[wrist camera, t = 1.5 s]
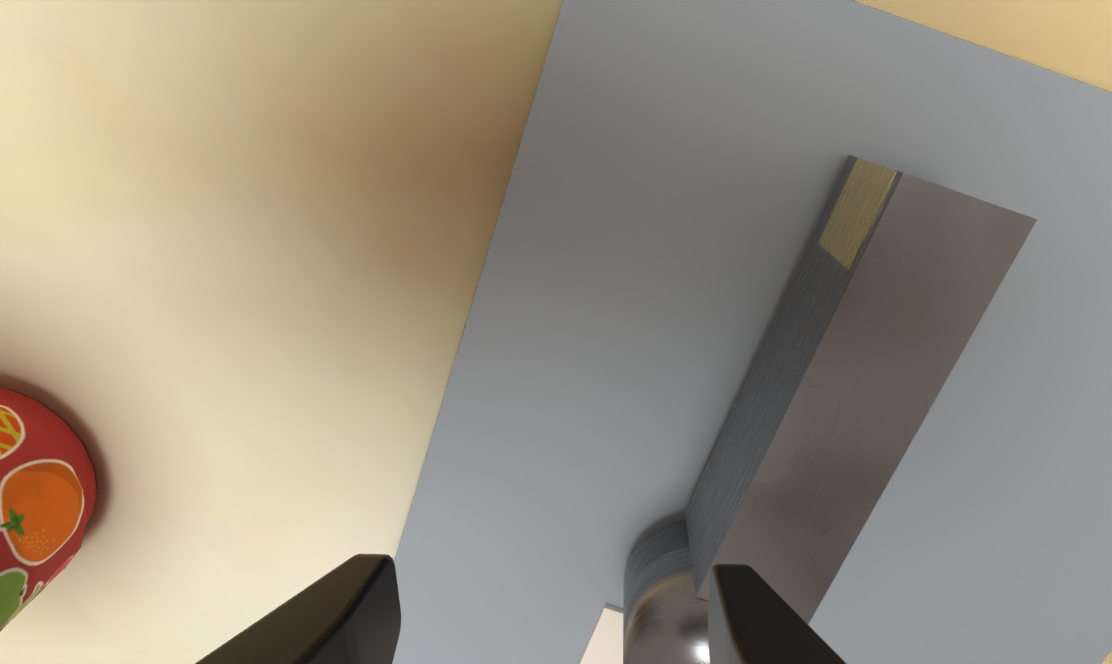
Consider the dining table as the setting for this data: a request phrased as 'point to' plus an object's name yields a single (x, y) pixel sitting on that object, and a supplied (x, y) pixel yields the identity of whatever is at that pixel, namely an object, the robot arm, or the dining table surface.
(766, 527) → the swing bar
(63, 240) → the dining table surface
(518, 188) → the lock board
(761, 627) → the robot arm
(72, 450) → the smoothie
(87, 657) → the dining table surface
